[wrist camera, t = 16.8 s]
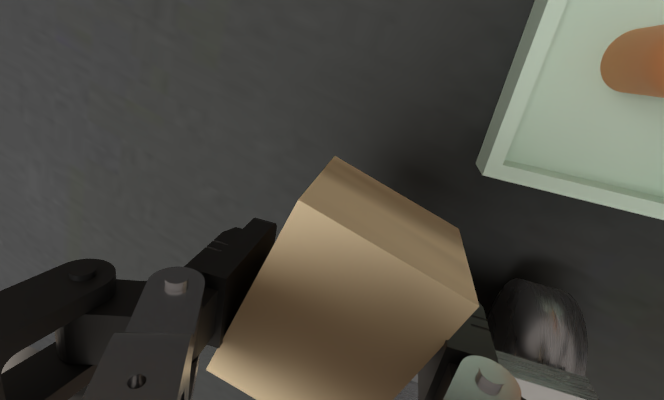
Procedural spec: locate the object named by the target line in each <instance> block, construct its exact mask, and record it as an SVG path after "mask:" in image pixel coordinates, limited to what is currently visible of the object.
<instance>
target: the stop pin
mask: <svg viewBox="0 0 664 400" xmlns="http://www.w3.org/2000/svg"><path fill="white" fill-rule="evenodd" d="M600 72H601V76H602V79H603V81H604V82H605V83H606V85H607V86H609V87H610V88H611V89H613V90H615V91H618V92H623V93H631V94H638V95H646V96H653V97H661V98H664V25H658V26H652V27H645V28H639V29H634V30H631V31H628V32H626V33H624V34H622V35H621V36H619V37H618V38H616V39H615V40H614V41H613V42H612V43H611V44H610V45H609V46H608V48H607V49H606V51H605V53H604V55H603V57H602V60H601V65H600Z"/></svg>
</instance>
